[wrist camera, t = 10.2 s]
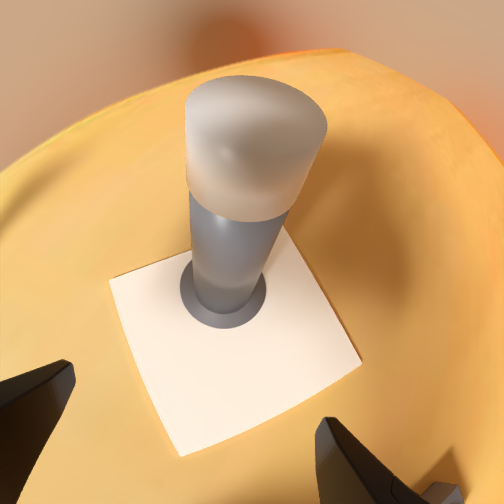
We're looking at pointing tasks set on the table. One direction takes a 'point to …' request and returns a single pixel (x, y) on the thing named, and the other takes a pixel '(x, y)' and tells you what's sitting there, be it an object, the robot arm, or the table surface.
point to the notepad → (230, 346)
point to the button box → (443, 494)
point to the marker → (243, 178)
